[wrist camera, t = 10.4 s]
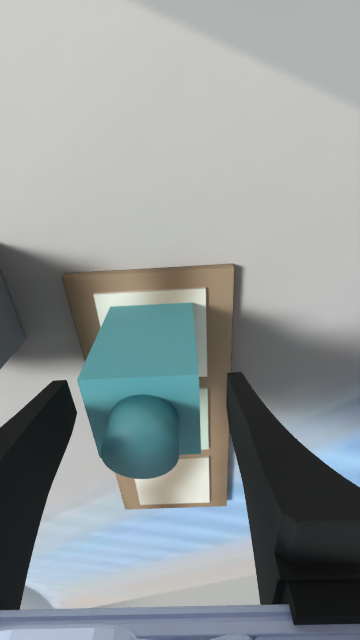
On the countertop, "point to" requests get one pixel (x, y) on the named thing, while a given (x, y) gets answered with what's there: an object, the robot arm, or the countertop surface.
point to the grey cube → (8, 325)
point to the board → (213, 365)
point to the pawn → (144, 389)
